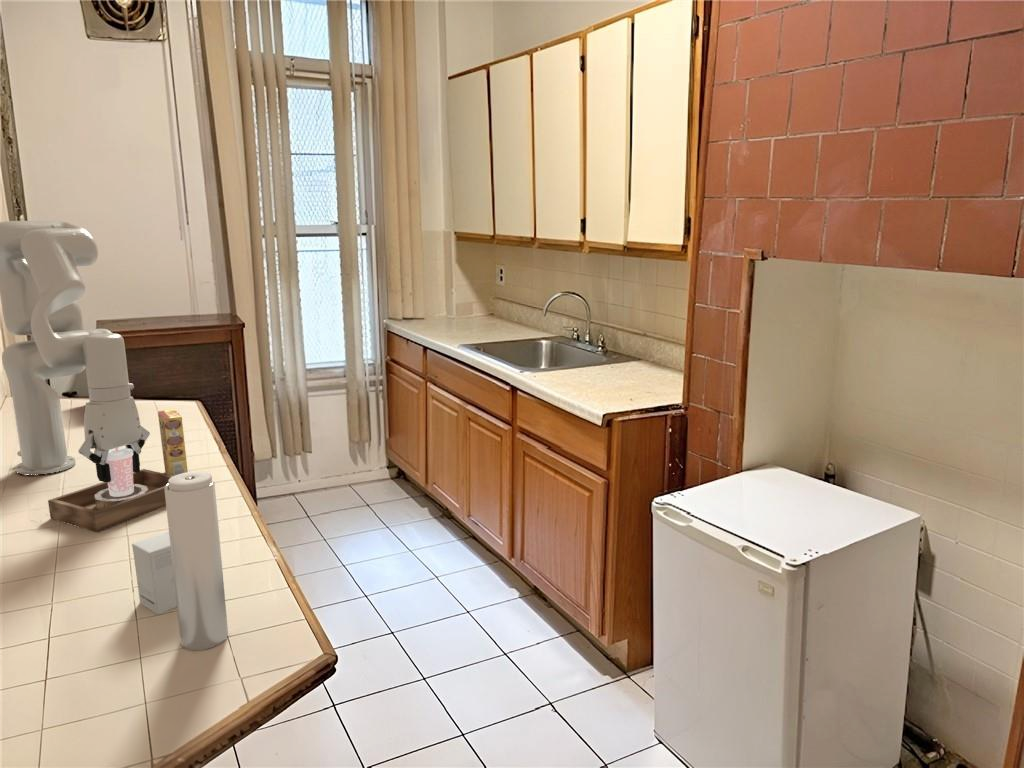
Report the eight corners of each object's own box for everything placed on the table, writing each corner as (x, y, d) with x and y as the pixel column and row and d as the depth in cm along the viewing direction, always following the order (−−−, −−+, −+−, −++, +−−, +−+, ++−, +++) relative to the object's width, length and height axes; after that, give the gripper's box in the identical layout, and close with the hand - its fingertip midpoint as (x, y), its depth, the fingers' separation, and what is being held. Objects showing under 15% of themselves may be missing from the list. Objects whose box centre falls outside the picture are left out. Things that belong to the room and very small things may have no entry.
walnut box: (50, 518, 153) (48, 500, 153) (145, 485, 173) (143, 468, 172) (97, 532, 147) (95, 513, 146) (190, 496, 166) (188, 479, 165)
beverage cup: (116, 500, 155) (108, 435, 152) (99, 494, 158) (91, 430, 155) (143, 491, 160) (136, 428, 157) (127, 486, 163) (120, 424, 160)
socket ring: (85, 507, 157) (84, 496, 157) (128, 492, 166) (127, 481, 166) (116, 515, 153) (115, 504, 152) (159, 499, 162) (157, 488, 161)
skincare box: (199, 578, 128) (193, 521, 126) (219, 590, 124) (214, 531, 122) (137, 602, 120) (130, 541, 118) (156, 615, 116) (149, 553, 114)
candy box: (189, 479, 177) (183, 416, 174) (169, 482, 175) (163, 419, 171) (182, 468, 184) (176, 408, 181) (163, 471, 182) (157, 410, 178)
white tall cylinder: (189, 627, 113) (173, 470, 107) (233, 625, 113) (219, 469, 108) (174, 652, 106) (156, 486, 101) (220, 649, 107) (205, 484, 102)
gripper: (135, 383, 163) (144, 462, 167) (57, 400, 148) (69, 486, 152) (158, 387, 160) (166, 467, 164) (81, 404, 145) (92, 492, 149)
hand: (119, 475), depth 158 cm, fingers closed on beverage cup, 6 cm apart
